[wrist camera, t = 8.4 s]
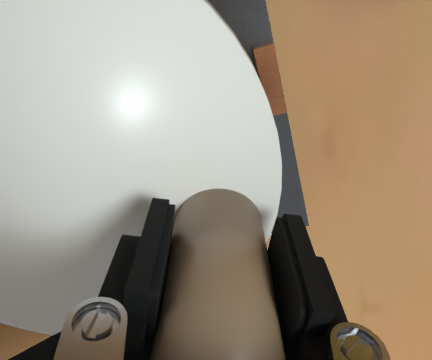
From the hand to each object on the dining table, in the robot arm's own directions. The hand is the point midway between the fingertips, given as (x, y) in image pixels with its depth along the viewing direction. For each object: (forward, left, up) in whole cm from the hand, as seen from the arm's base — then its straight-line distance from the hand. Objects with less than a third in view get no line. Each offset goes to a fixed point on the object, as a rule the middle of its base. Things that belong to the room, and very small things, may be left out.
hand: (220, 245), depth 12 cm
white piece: (+5, -3, -3) cm, 7 cm away
